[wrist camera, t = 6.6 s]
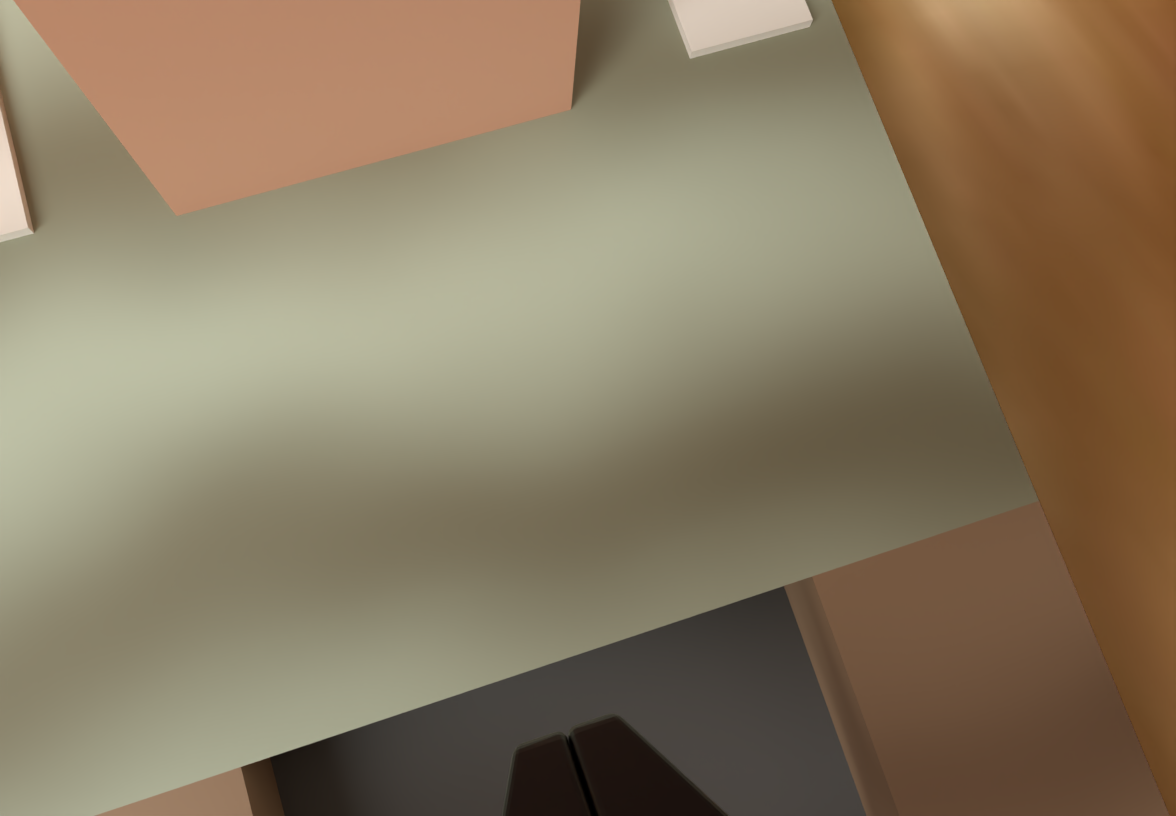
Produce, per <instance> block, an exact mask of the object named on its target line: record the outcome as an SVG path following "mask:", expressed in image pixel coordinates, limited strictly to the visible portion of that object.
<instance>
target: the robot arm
mask: <svg viewBox="0 0 1176 816" xmlns="http://www.w3.org/2000/svg"><path fill="white" fill-rule="evenodd" d="M568 739H569V741H568ZM502 816H729V815H728V814H727V813H726V812H724V811H723V810H722V809H721V808H720V807H719V806H718V805H717V804H716V803H715V802H714V801H712V800H711V799H710V798H709V797H708V796H707V795H706V794H705V793H704V792H703V791H702V790H701V789H699V788H698V787H697V786H696V785H695V784H694V783H693V782H692V781H691V780H690V779H689V778H688V777H686V776H685V775H684V774H683V773H682V772H681V771H680V770H679V769H678V768H677V767H676V766H675V765H673V764H672V763H671V762H670V761H669V760H668V759H667V758H666V757H665V756H664V755H663V754H662V753H660V752H659V751H658V750H657V749H656V748H655V747H654V746H653V745H652V744H651V743H650V742H649V741H647V740H646V739H645V738H644V737H643V736H642V735H641V734H640V733H639V732H638V731H637V730H636V729H634V728H633V727H632V726H631V725H630V724H629V723H628V722H627V721H626V720H625V719H623V718H622V717H620V716H619V715H617V714H613V713H611V714H606V715H603V716H600V717H597V718H595V719H592V720H589V721H586V722H583V723H580V724H577V725H574V726H573V727H572V728H571V729H570V730H569V733H568V738H567V736H566V735H565V734H564V733H562V732H554V733H551V734H548V735H545V736H542V737H539V738H536V739H533V740H530V741H527V742H525V743H522V744H520V745H518V746H517V747H516V748H515V750H514V752H513V755H512V759H511V764H510V770H509V776H508V782H507V787H506V793H505V799H504V805H503V810H502Z"/></svg>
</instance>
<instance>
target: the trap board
mask: <svg viewBox="0 0 1176 816" xmlns="http://www.w3.org/2000/svg"><path fill="white" fill-rule="evenodd" d="M611 713H613V714H617V715H619V716H620V717H622V718H623V719H625V720H626V721H627V722H628V723H629V724H630V725H631V726H632V727H633V728H634V729H636V730H637V731H638V732H639V733H640V734H641V735H642V736H643V737H644V738H645V739H646V740H647V741H649V742H650V743H651V744H652V745H653V746H654V747H655V748H656V749H657V750H658V751H659V752H660V753H662V754H663V755H664V756H665V757H666V758H667V759H668V760H669V761H670V762H671V763H672V764H673V765H675V766H676V767H677V768H678V769H679V770H680V771H681V772H682V773H683V774H684V775H685V776H686V777H688V778H689V779H690V780H691V781H692V782H693V783H694V784H695V785H696V786H697V787H698V788H699V789H701V790H702V791H703V792H704V793H705V794H706V795H707V796H708V797H709V798H710V799H711V800H712V801H714V802H715V803H716V804H717V805H718V806H719V807H720V808H721V809H722V810H723V811H724V812H726V813H727V814H728V815H729V816H1170V815H1169V813H1168V810H1167V808H1166V805H1165V803H1164V801H1163V798H1162V796H1161V793H1160V791H1159V789H1158V786H1157V784H1156V781H1155V779H1154V777H1153V774H1152V772H1151V769H1150V767H1149V764H1148V762H1147V760H1146V757H1145V755H1144V752H1143V750H1142V748H1141V745H1140V743H1139V740H1138V738H1137V736H1136V733H1135V731H1134V728H1133V726H1132V723H1131V721H1130V719H1129V716H1128V714H1127V711H1126V709H1125V707H1124V704H1123V702H1122V699H1121V697H1120V695H1119V692H1118V690H1117V687H1116V685H1115V683H1114V680H1113V678H1112V675H1111V673H1110V670H1109V668H1108V666H1107V663H1106V661H1105V658H1104V656H1103V654H1102V651H1101V649H1100V646H1099V644H1098V642H1097V639H1096V637H1095V634H1094V632H1093V630H1092V627H1091V625H1090V622H1089V620H1088V617H1087V615H1086V613H1085V610H1084V608H1083V605H1082V603H1081V601H1080V598H1079V596H1078V593H1077V591H1076V589H1075V586H1074V584H1073V581H1072V579H1071V576H1070V574H1069V572H1068V569H1067V567H1066V564H1065V562H1064V560H1063V557H1062V555H1061V552H1060V550H1059V548H1058V545H1057V543H1056V540H1055V538H1054V536H1053V533H1052V531H1051V528H1050V526H1049V523H1048V521H1047V519H1046V516H1045V514H1044V511H1043V509H1042V507H1041V504H1040V502H1039V499H1038V497H1037V495H1036V492H1035V490H1034V487H1033V485H1032V483H1031V480H1030V478H1029V475H1028V473H1027V470H1026V468H1025V466H1024V463H1023V461H1022V458H1021V456H1020V454H1019V451H1018V449H1017V446H1016V444H1015V442H1014V439H1013V437H1012V434H1011V432H1010V429H1009V427H1008V425H1007V422H1006V420H1005V417H1004V415H1003V413H1002V410H1001V408H1000V405H999V403H998V401H997V398H996V396H995V393H994V391H993V389H992V386H991V384H990V381H989V379H988V376H987V374H986V372H985V369H984V367H983V364H982V362H981V360H980V357H979V355H978V352H977V350H976V348H975V345H974V343H973V340H972V338H971V336H970V333H969V331H968V328H967V326H966V323H965V321H964V319H963V316H962V314H961V311H960V309H959V307H958V304H957V302H956V299H955V297H954V295H953V292H952V290H951V287H950V285H949V282H948V280H947V278H946V275H945V273H944V270H943V268H942V266H941V263H940V261H939V258H938V256H937V254H936V251H935V249H934V246H933V244H932V242H931V239H930V237H929V234H928V232H927V229H926V227H925V225H924V222H923V220H922V217H921V215H920V213H919V210H918V208H917V205H916V203H915V201H914V198H913V196H912V193H911V191H910V189H909V186H908V184H907V181H906V179H905V176H904V174H903V172H902V169H901V167H900V164H899V162H898V160H897V157H896V155H895V152H894V150H893V148H892V145H891V143H890V140H889V138H888V135H887V133H886V131H885V128H884V126H883V123H882V121H881V119H880V116H879V114H878V111H877V109H876V107H875V104H874V102H873V99H872V97H871V95H870V92H869V90H868V87H867V85H866V82H865V80H864V78H863V75H862V73H861V70H860V68H859V66H858V63H857V61H856V58H855V56H854V54H853V51H852V49H851V46H850V44H849V42H848V39H847V37H846V34H845V32H844V29H843V27H842V25H841V22H840V20H839V17H838V15H837V13H836V10H835V8H834V5H833V3H832V1H831V0H581V1H580V13H579V24H578V36H577V47H576V59H575V70H574V82H573V94H572V105H571V110H568V111H564V112H561V113H557V114H553V115H550V116H546V117H542V118H538V119H535V120H531V121H527V122H524V123H520V124H516V125H512V126H509V127H505V128H501V129H498V130H494V131H490V132H486V133H483V134H479V135H475V136H472V137H468V138H464V139H460V140H457V141H453V142H449V143H446V144H442V145H438V146H435V147H431V148H427V149H423V150H420V151H416V152H412V153H409V154H405V155H401V156H397V157H394V158H390V159H386V160H383V161H379V162H375V163H371V164H368V165H364V166H360V167H357V168H353V169H349V170H345V171H342V172H338V173H334V174H331V175H327V176H323V177H320V178H316V179H312V180H308V181H305V182H301V183H297V184H294V185H290V186H286V187H282V188H279V189H275V190H271V191H268V192H264V193H260V194H256V195H253V196H249V197H245V198H242V199H238V200H234V201H230V202H227V203H223V204H219V205H216V206H212V207H208V208H205V209H201V210H197V211H193V212H190V213H186V214H182V215H179V216H176V215H175V213H174V212H173V211H172V209H171V208H170V207H169V205H168V204H167V203H166V201H165V200H164V199H163V197H162V196H161V195H160V193H159V192H158V191H157V189H156V188H155V187H154V185H153V184H152V183H151V182H150V180H149V179H148V178H147V176H146V175H145V174H144V172H143V171H142V170H141V168H140V167H139V166H138V164H137V163H136V162H135V160H134V159H133V158H132V156H131V155H130V154H129V152H128V151H127V150H126V148H125V147H124V146H123V145H122V143H121V142H120V141H119V139H118V138H117V137H116V135H115V134H114V133H113V131H112V130H111V129H110V127H109V126H108V125H107V123H106V122H105V121H104V119H103V118H102V117H101V115H100V114H99V113H98V111H97V110H96V109H95V108H94V106H93V105H92V104H91V102H90V101H89V100H88V98H87V97H86V96H85V94H84V93H83V92H82V90H81V89H80V88H79V86H78V85H77V84H76V82H75V81H74V80H73V78H72V77H71V76H70V75H69V73H68V72H67V71H66V69H65V68H64V67H63V65H62V64H61V63H60V61H59V60H58V59H57V57H56V56H55V55H54V53H53V52H52V51H51V49H50V48H49V47H48V45H47V44H46V43H45V41H44V40H43V39H42V38H41V36H40V35H39V34H38V32H37V31H36V30H35V28H34V27H33V26H32V24H31V23H30V22H29V20H28V19H27V18H26V16H25V15H24V14H23V12H22V11H21V10H20V8H19V7H18V6H17V5H16V3H15V2H14V1H13V0H0V816H502V810H503V805H504V799H505V793H506V787H507V782H508V776H509V770H510V764H511V759H512V755H513V752H514V750H515V748H516V747H517V746H518V745H520V744H522V743H525V742H527V741H530V740H533V739H536V738H539V737H542V736H545V735H548V734H551V733H554V732H562V733H564V734H565V735H566V736H567V738H568V733H569V730H570V729H571V728H572V727H573V726H574V725H577V724H580V723H583V722H586V721H589V720H592V719H595V718H597V717H600V716H603V715H606V714H611ZM568 741H569V739H568Z"/></svg>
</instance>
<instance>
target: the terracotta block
mask: <svg viewBox="0 0 1176 816" xmlns="http://www.w3.org/2000/svg"><path fill="white" fill-rule="evenodd" d="M13 1H14V2H15V3H16V5H17V6H18V7H19V8H20V10H21V11H22V12H23V14H24V15H25V16H26V18H27V19H28V20H29V22H30V23H31V24H32V26H33V27H34V28H35V30H36V31H37V32H38V34H39V35H40V36H41V38H42V39H43V40H44V41H45V43H46V44H47V45H48V47H49V48H50V49H51V51H52V52H53V53H54V55H55V56H56V57H57V59H58V60H59V61H60V63H61V64H62V65H63V67H64V68H65V69H66V71H67V72H68V73H69V75H70V76H71V77H72V78H73V80H74V81H75V82H76V84H77V85H78V86H79V88H80V89H81V90H82V92H83V93H84V94H85V96H86V97H87V98H88V100H89V101H90V102H91V104H92V105H93V106H94V108H95V109H96V110H97V111H98V113H99V114H100V115H101V117H102V118H103V119H104V121H105V122H106V123H107V125H108V126H109V127H110V129H111V130H112V131H113V133H114V134H115V135H116V137H117V138H118V139H119V141H120V142H121V143H122V145H123V146H124V147H125V148H126V150H127V151H128V152H129V154H130V155H131V156H132V158H133V159H134V160H135V162H136V163H137V164H138V166H139V167H140V168H141V170H142V171H143V172H144V174H145V175H146V176H147V178H148V179H149V180H150V182H151V183H152V184H153V185H154V187H155V188H156V189H157V191H158V192H159V193H160V195H161V196H162V197H163V199H164V200H165V201H166V203H167V204H168V205H169V207H170V208H171V209H172V211H173V212H174V213H175V215H176V216H179V215H182V214H186V213H190V212H193V211H197V210H201V209H205V208H208V207H212V206H216V205H219V204H223V203H227V202H230V201H234V200H238V199H242V198H245V197H249V196H253V195H256V194H260V193H264V192H268V191H271V190H275V189H279V188H282V187H286V186H290V185H294V184H297V183H301V182H305V181H308V180H312V179H316V178H320V177H323V176H327V175H331V174H334V173H338V172H342V171H345V170H349V169H353V168H357V167H360V166H364V165H368V164H371V163H375V162H379V161H383V160H386V159H390V158H394V157H397V156H401V155H405V154H409V153H412V152H416V151H420V150H423V149H427V148H431V147H435V146H438V145H442V144H446V143H449V142H453V141H457V140H460V139H464V138H468V137H472V136H475V135H479V134H483V133H486V132H490V131H494V130H498V129H501V128H505V127H509V126H512V125H516V124H520V123H524V122H527V121H531V120H535V119H538V118H542V117H546V116H550V115H553V114H557V113H561V112H564V111H568V110H571V105H572V94H573V82H574V70H575V59H576V47H577V36H578V24H579V13H580V1H581V0H13Z"/></svg>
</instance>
